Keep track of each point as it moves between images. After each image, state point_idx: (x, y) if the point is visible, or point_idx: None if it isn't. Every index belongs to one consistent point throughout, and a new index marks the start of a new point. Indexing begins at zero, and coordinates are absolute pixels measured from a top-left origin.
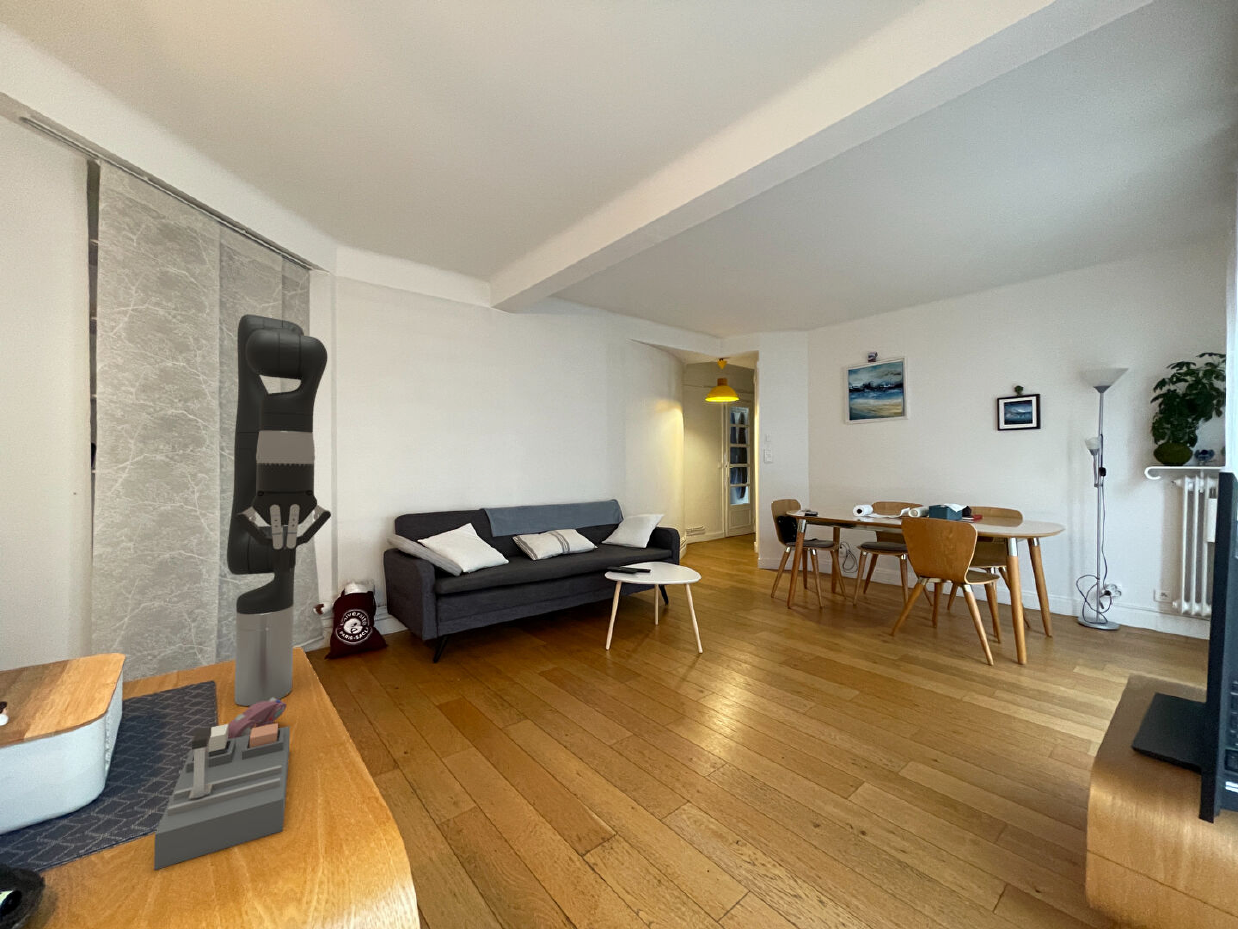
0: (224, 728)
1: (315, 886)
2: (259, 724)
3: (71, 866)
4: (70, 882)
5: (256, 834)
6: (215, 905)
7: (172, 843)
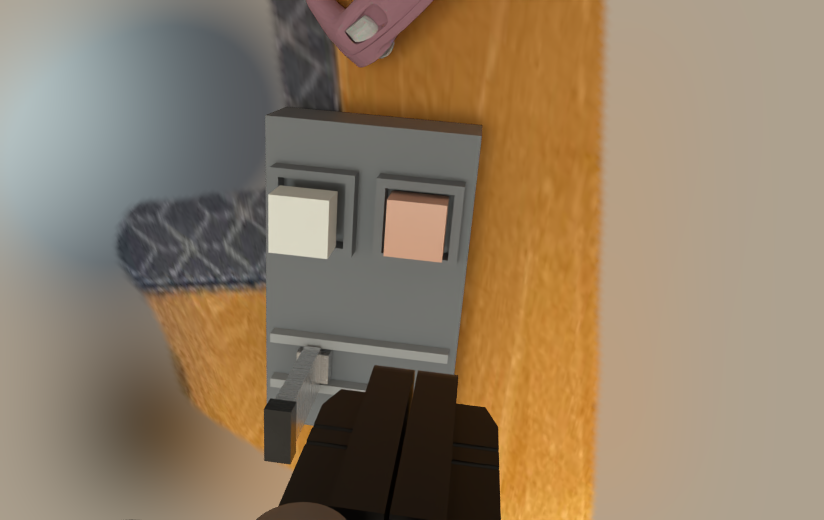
0: (322, 225)
1: None
2: None
3: (173, 306)
4: (186, 344)
5: None
6: None
7: None
